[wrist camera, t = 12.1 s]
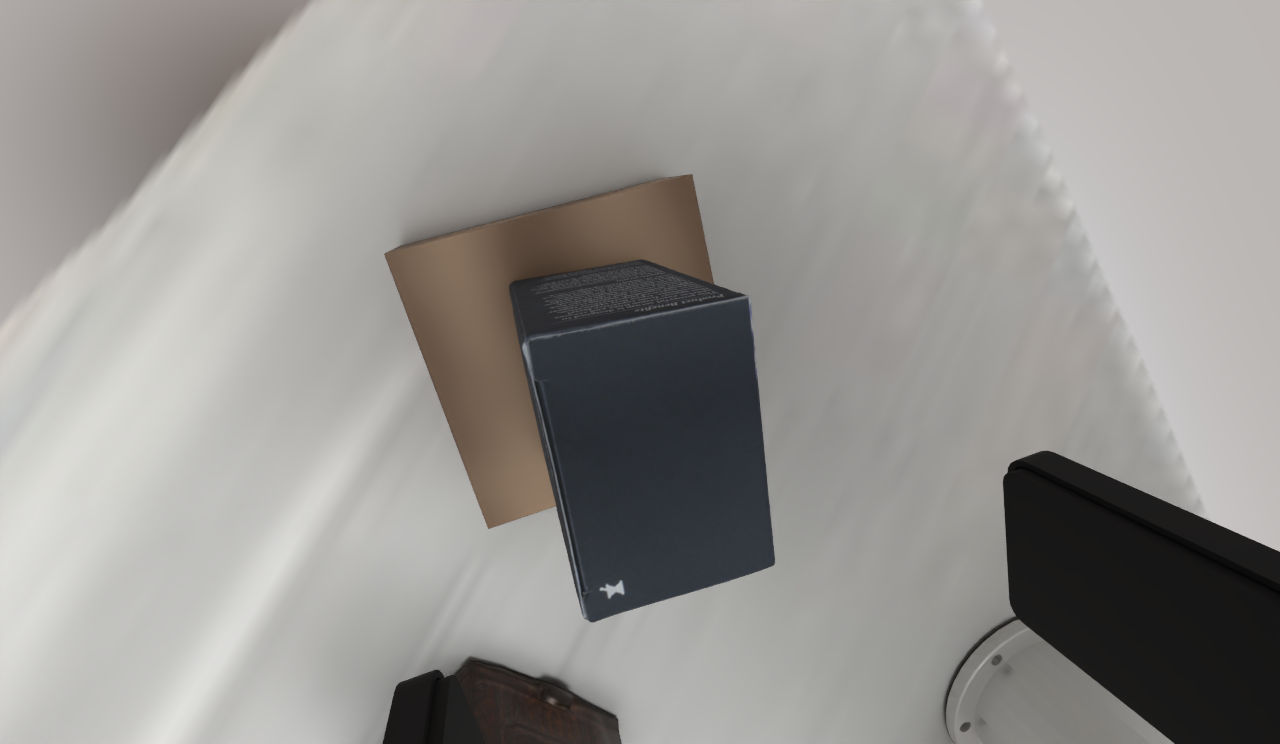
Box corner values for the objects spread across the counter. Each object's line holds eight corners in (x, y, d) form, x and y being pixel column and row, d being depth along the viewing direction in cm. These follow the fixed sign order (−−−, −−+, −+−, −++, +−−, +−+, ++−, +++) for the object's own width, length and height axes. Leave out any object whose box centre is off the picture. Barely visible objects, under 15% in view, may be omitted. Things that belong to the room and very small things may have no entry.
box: (671, 431, 26) (780, 572, 16) (544, 461, 25) (579, 631, 15) (646, 254, 24) (757, 292, 14) (505, 278, 23) (516, 339, 13)
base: (664, 178, 27) (692, 174, 23) (714, 412, 31) (745, 442, 27) (400, 246, 25) (384, 253, 21) (488, 486, 29) (488, 528, 25)
